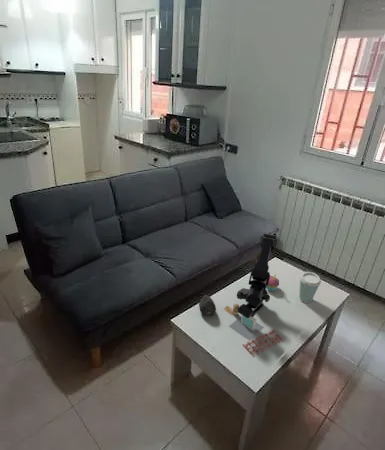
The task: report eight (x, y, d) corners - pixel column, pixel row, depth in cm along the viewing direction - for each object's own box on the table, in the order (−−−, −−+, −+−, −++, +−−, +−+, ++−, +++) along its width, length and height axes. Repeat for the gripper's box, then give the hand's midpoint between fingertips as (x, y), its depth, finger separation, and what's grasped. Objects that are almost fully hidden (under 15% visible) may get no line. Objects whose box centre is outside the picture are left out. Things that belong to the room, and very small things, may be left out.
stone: (212, 315, 156) (213, 295, 158) (218, 317, 149) (219, 296, 151) (197, 315, 154) (198, 294, 155) (202, 316, 146) (204, 295, 148)
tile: (242, 320, 150) (244, 311, 147) (254, 328, 146) (256, 319, 143) (240, 322, 149) (242, 313, 146) (252, 330, 145) (254, 321, 142)
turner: (227, 306, 159) (228, 297, 157) (239, 314, 155) (240, 304, 152) (222, 310, 157) (223, 300, 154) (234, 318, 152) (236, 308, 150)
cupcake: (280, 291, 173) (285, 273, 167) (268, 294, 170) (271, 276, 164) (272, 282, 180) (275, 265, 174) (259, 284, 177) (263, 267, 171)
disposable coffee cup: (315, 308, 162) (322, 285, 155) (294, 302, 165) (300, 280, 158) (314, 295, 171) (321, 273, 164) (294, 290, 174) (300, 269, 167)
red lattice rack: (240, 347, 137) (241, 344, 136) (272, 331, 146) (272, 328, 145) (251, 359, 132) (252, 356, 131) (283, 342, 141) (283, 339, 140)
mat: (243, 314, 155) (243, 313, 154) (263, 328, 147) (263, 327, 147) (228, 327, 147) (228, 326, 146) (249, 341, 139) (249, 340, 139)
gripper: (253, 275, 151) (248, 299, 158) (230, 291, 139) (226, 317, 146) (273, 285, 144) (267, 311, 151) (250, 304, 132) (245, 330, 139)
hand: (251, 317), depth 147 cm, fingers closed
